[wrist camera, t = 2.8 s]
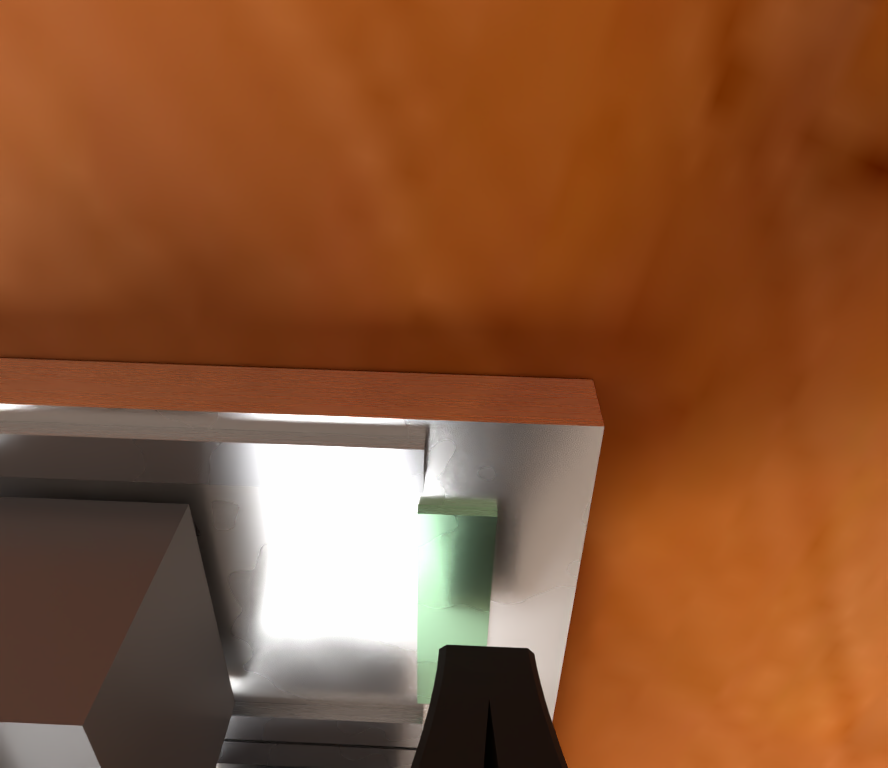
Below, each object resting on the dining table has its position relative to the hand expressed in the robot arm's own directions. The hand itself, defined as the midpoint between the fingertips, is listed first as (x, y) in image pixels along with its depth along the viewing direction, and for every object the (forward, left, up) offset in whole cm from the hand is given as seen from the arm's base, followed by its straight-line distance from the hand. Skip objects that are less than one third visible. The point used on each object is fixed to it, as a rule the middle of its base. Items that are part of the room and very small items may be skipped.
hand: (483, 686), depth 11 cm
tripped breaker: (-7, 0, -1) cm, 7 cm away
